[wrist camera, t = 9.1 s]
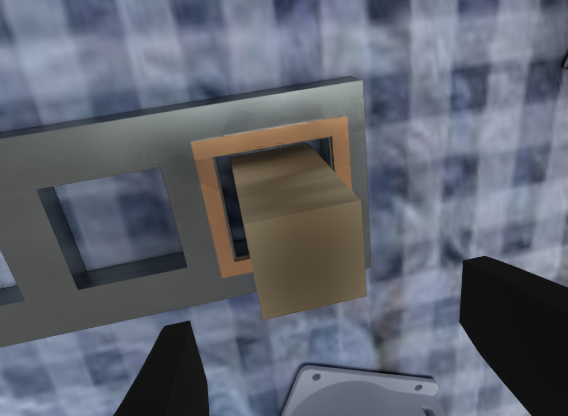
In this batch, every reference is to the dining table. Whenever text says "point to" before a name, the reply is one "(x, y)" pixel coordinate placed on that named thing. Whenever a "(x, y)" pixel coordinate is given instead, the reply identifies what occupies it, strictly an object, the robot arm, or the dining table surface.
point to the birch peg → (299, 230)
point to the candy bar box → (566, 63)
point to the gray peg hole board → (181, 191)
